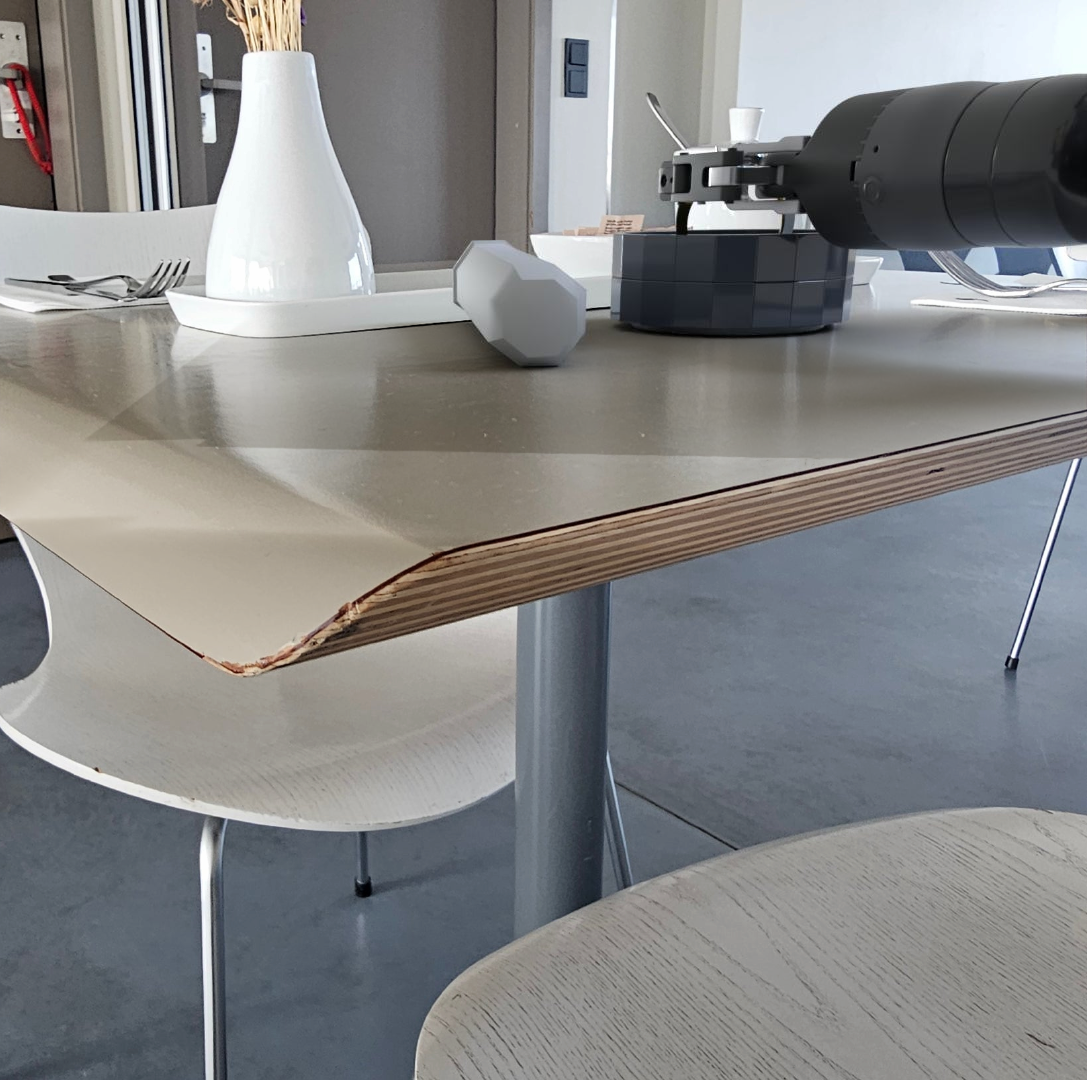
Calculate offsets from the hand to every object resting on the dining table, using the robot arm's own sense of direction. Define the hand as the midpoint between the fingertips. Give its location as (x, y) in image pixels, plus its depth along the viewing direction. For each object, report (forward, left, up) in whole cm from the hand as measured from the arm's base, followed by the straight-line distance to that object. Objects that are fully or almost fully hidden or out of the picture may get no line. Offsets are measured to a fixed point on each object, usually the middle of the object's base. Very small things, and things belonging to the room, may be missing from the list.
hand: (713, 180), depth 71 cm
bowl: (0, +2, -8) cm, 9 cm away
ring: (0, +2, -6) cm, 7 cm away
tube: (+15, +3, -9) cm, 18 cm away
